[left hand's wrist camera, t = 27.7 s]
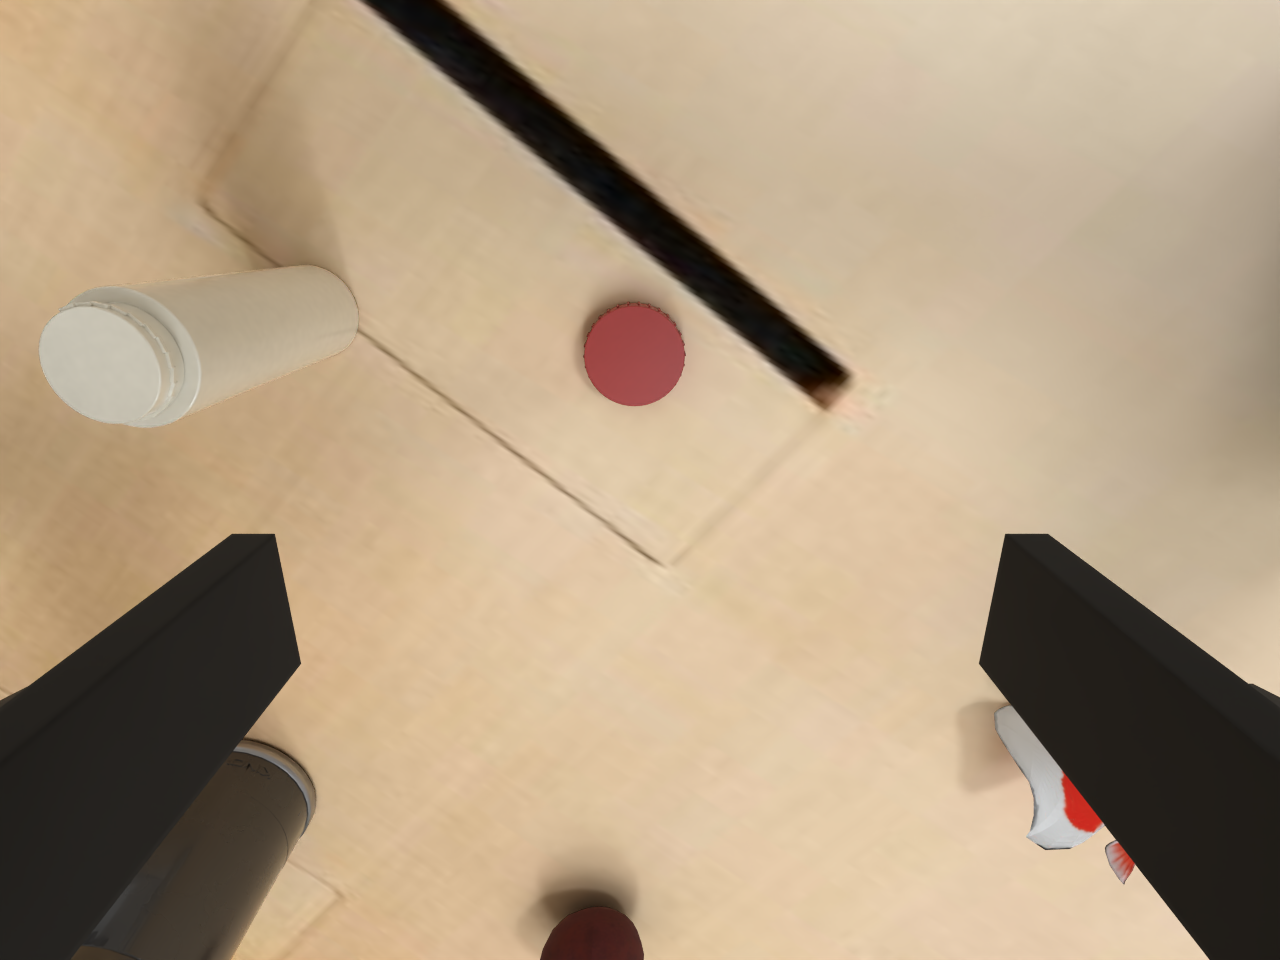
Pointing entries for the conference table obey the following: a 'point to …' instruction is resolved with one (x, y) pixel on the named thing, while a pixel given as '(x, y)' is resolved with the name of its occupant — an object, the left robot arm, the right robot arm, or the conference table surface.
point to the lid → (634, 354)
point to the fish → (1054, 795)
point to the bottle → (192, 340)
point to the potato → (594, 937)
